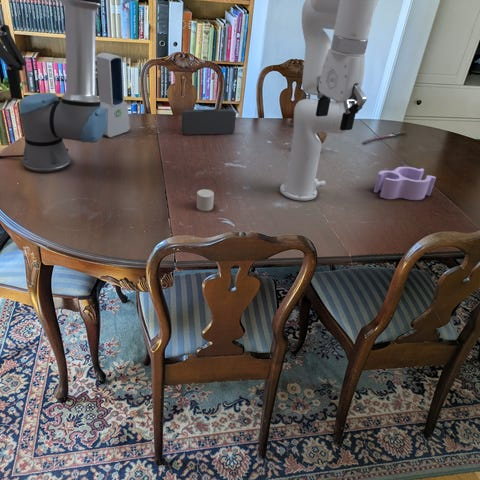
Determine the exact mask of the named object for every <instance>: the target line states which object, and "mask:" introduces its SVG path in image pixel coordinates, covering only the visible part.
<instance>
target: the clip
mask: <svg viewBox="0 0 480 480" xmlns="http://www.w3.org/2000/svg"><path fill="white" fill-rule="evenodd" d="M424 172H425V169H424V168H423V167H421V168H416V167H411V166H398V167H396V168H394V169H393V170H385V169H384V170H380V171H378V175H377V179H376V182H375V186H374V190H373V192H374V193H379V191H380V194H379V198H383V199H386V200H396V199H405V200H409V201H420V200H423V199H424V198H425V197H426V196H427V197H430V196H431V194H432V191H433V188H434V185H435V182H436V179H437V177H436V176H434V175H429V174H428V175H426V176H425V179H422V178H423V175H424Z"/></svg>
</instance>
